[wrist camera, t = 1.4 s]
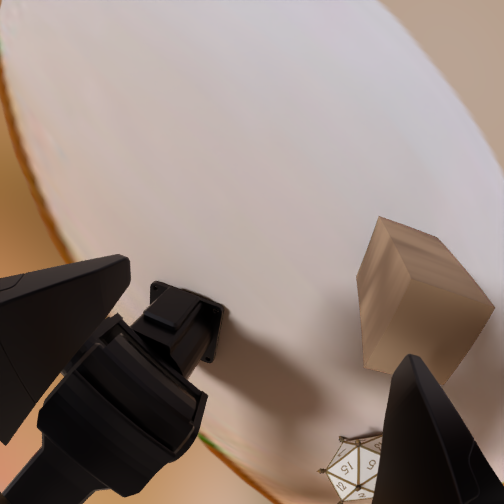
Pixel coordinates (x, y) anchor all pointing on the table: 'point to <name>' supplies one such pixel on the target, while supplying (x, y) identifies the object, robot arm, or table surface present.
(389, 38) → the table surface
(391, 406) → the robot arm
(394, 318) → the brown rectangular block
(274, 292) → the table surface
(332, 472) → the game die
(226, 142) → the table surface
